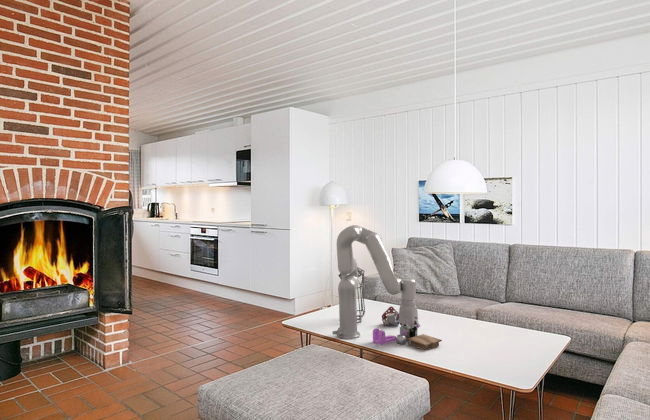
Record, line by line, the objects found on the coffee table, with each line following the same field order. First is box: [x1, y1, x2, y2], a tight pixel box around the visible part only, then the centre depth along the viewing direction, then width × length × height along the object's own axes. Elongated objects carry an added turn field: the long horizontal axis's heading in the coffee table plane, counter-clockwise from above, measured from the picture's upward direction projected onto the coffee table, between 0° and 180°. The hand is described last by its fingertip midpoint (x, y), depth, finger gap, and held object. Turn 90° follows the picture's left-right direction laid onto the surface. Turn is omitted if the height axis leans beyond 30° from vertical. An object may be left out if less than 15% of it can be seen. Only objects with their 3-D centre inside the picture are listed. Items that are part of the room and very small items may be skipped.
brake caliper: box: [381, 305, 400, 328], centre depth 246 cm, size 11×11×12 cm
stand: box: [407, 333, 443, 351], centre depth 210 cm, size 12×12×3 cm
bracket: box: [372, 327, 397, 346], centre depth 218 cm, size 13×6×7 cm, turn 124°
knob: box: [396, 334, 407, 346], centre depth 214 cm, size 4×4×4 cm
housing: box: [399, 325, 418, 342], centre depth 221 cm, size 9×5×6 cm, turn 125°
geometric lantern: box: [338, 266, 366, 324], centre depth 257 cm, size 16×16×35 cm
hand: (408, 336), depth 221 cm, fingers closed on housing, 5 cm apart
